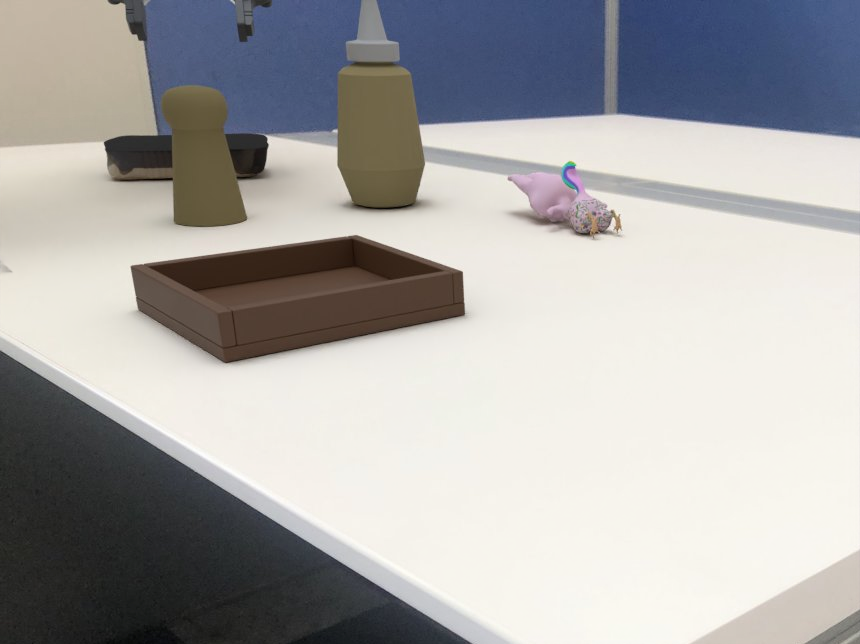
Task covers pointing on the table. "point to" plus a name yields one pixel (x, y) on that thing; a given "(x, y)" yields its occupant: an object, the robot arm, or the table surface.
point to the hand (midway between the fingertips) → (192, 34)
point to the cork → (201, 158)
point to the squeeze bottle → (377, 120)
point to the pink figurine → (565, 200)
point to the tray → (295, 294)
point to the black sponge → (155, 155)
